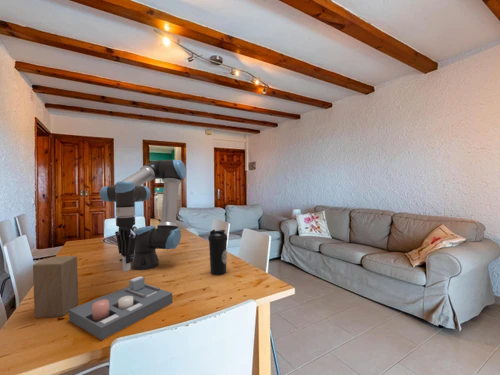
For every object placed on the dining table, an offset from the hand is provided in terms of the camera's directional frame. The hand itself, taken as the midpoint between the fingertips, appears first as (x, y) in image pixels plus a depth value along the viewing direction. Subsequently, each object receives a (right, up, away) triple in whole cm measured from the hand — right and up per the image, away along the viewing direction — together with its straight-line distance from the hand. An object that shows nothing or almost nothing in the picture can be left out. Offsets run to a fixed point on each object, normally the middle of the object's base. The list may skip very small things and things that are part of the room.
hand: (126, 270), depth 109 cm
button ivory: (+8, -10, -16) cm, 20 cm away
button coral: (+3, -8, -24) cm, 25 cm away
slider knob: (+6, -7, -3) cm, 10 cm away
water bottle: (+37, -10, +26) cm, 46 cm away
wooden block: (-21, -12, -12) cm, 27 cm away
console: (+6, -11, -13) cm, 18 cm away
